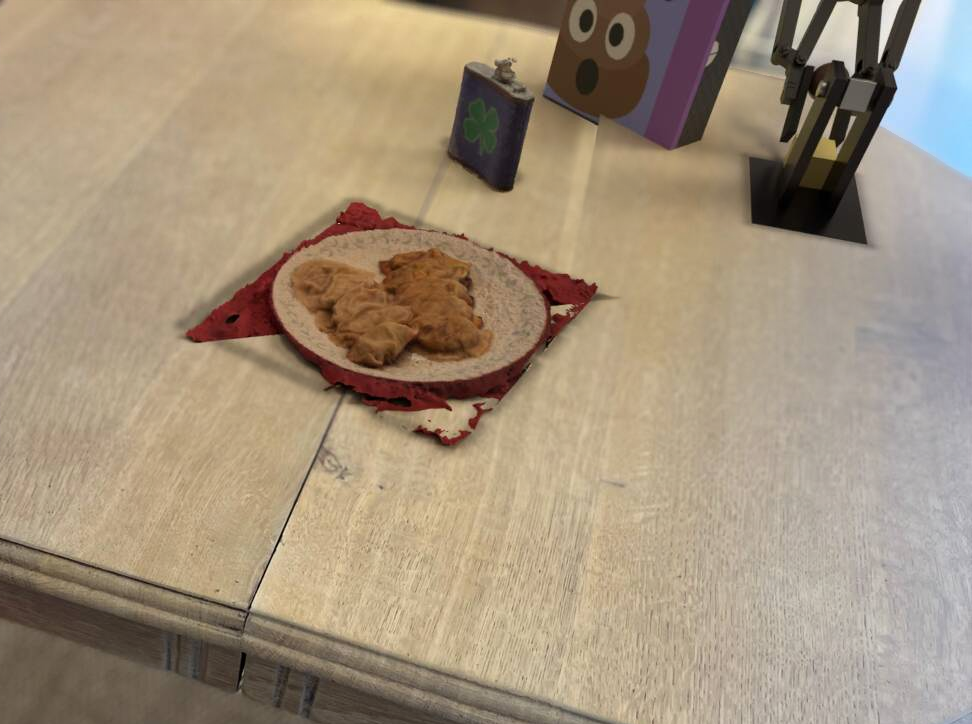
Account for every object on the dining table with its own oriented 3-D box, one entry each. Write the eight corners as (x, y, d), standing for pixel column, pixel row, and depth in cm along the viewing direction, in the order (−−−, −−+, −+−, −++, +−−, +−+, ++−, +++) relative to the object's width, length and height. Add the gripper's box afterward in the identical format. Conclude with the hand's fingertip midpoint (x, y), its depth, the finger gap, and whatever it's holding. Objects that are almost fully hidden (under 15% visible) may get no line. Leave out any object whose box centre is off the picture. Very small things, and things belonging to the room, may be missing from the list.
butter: (782, 162, 105) (795, 133, 103) (820, 169, 104) (834, 140, 102) (784, 183, 102) (798, 153, 100) (823, 190, 101) (838, 160, 99)
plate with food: (593, 306, 89) (606, 269, 86) (453, 458, 74) (463, 419, 71) (352, 216, 98) (357, 181, 95) (184, 335, 83) (184, 297, 80)
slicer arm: (798, 97, 106) (813, 58, 104) (836, 103, 105) (851, 64, 103) (827, 114, 93) (845, 69, 91) (870, 121, 92) (889, 76, 90)
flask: (441, 153, 106) (463, 42, 98) (464, 148, 107) (488, 38, 99) (498, 195, 101) (526, 81, 93) (522, 189, 102) (552, 76, 94)
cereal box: (542, 96, 116) (609, -161, 99) (572, 87, 118) (643, -167, 101) (666, 161, 107) (764, -110, 89) (696, 150, 109) (799, -117, 91)
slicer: (744, 167, 106) (800, 35, 97) (849, 186, 105) (916, 52, 95) (746, 234, 97) (808, 95, 88) (861, 256, 95) (936, 116, 86)
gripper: (952, -63, 104) (885, 170, 106) (775, -87, 107) (712, 140, 109) (992, -110, 97) (919, 141, 98) (801, -134, 100) (733, 110, 101)
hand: (811, 140), depth 103 cm, fingers open, 4 cm apart
